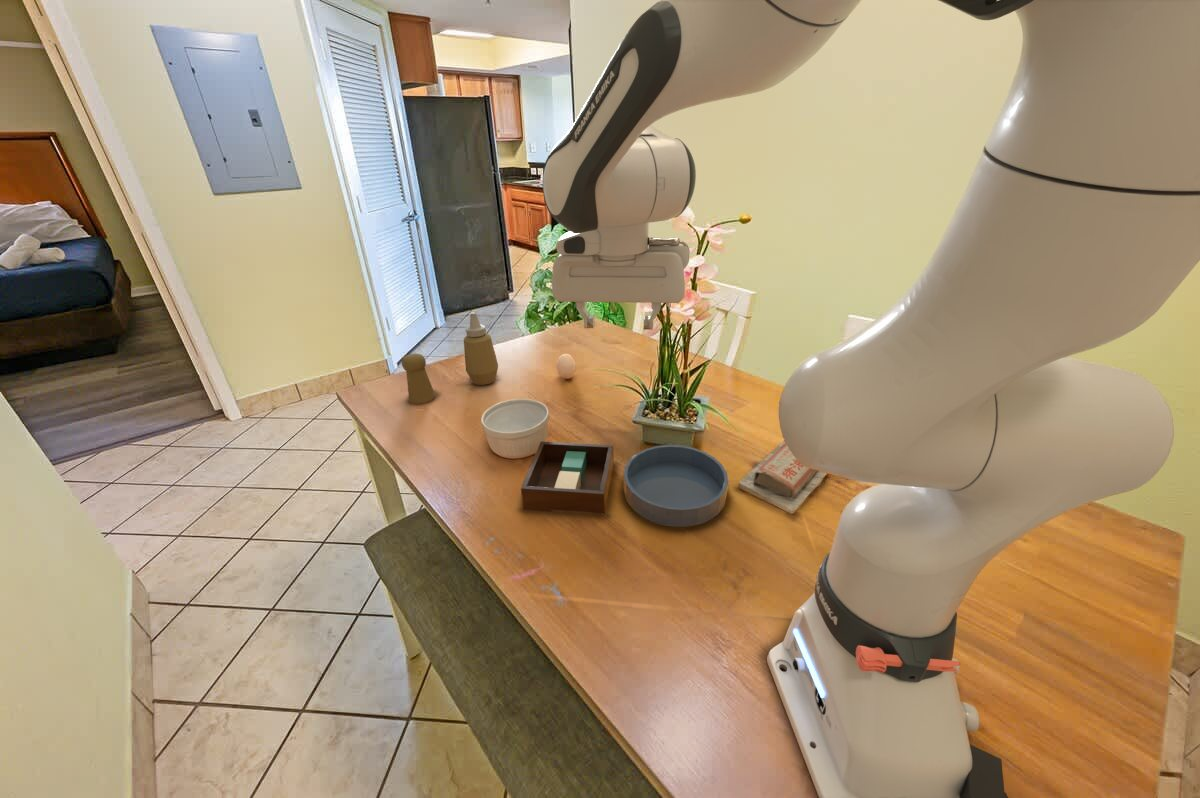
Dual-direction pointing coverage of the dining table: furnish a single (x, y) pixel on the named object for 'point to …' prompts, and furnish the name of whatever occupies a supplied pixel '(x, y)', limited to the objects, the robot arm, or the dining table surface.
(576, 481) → the beige block
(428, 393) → the pepper mill
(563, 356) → the egg
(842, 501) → the dining table surface
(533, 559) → the dining table surface
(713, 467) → the bowl
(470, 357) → the squeeze bottle
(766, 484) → the packaged product
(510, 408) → the ramekin
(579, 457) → the teal rectangular block
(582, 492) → the tray
